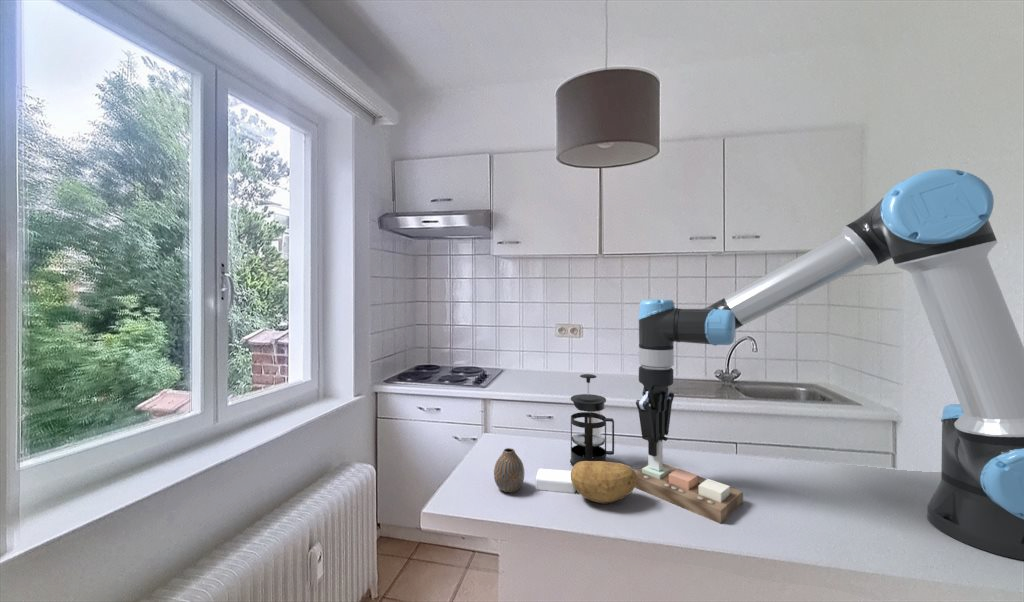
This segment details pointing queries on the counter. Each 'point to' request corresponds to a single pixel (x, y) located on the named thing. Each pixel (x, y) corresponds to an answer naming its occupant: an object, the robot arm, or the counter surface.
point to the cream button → (714, 490)
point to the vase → (509, 471)
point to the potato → (603, 480)
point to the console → (689, 496)
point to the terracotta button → (683, 479)
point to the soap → (554, 480)
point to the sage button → (656, 472)
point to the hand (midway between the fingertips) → (655, 467)
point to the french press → (589, 428)
